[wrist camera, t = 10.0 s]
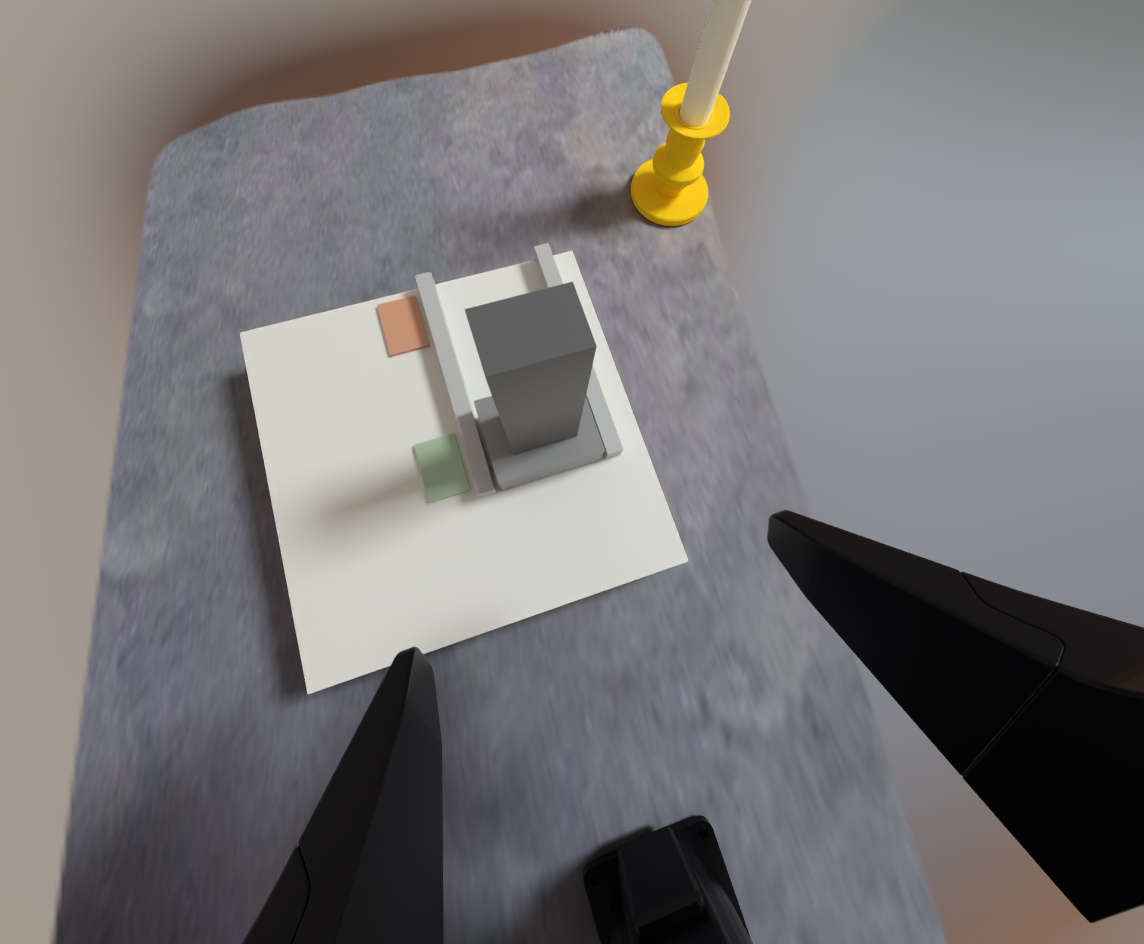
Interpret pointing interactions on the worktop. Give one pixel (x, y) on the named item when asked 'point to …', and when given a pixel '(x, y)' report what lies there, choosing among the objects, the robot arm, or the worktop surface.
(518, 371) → the handle
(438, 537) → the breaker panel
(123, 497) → the worktop surface
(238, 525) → the worktop surface
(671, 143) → the candle
